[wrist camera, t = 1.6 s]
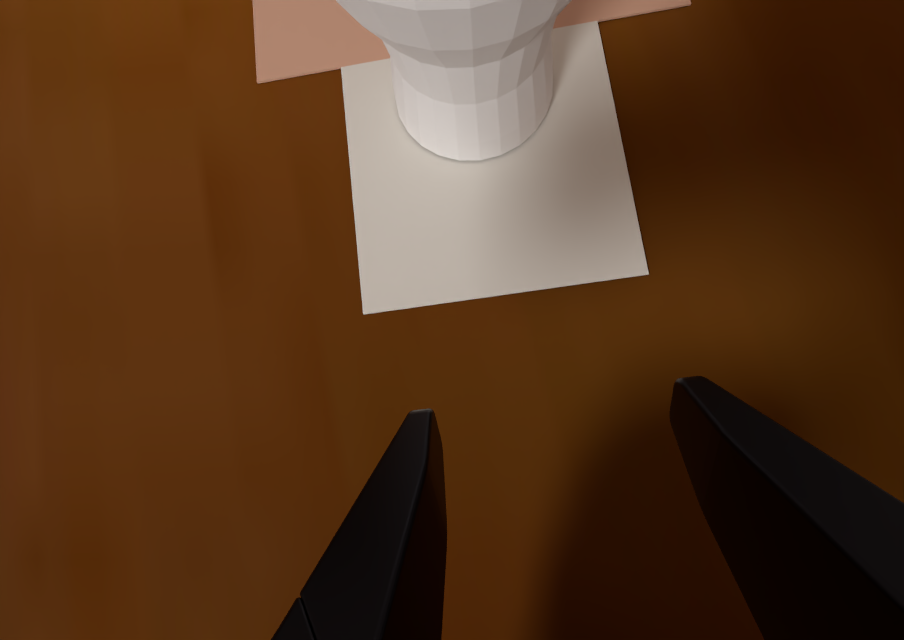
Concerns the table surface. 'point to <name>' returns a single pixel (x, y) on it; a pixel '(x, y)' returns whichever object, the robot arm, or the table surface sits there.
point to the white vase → (466, 69)
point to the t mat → (473, 167)
